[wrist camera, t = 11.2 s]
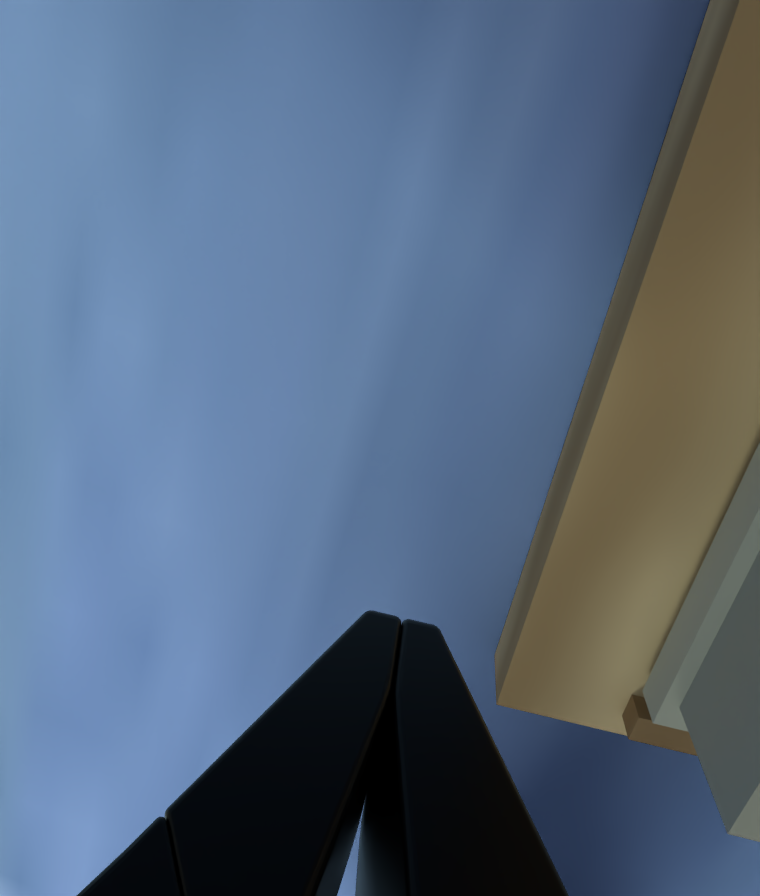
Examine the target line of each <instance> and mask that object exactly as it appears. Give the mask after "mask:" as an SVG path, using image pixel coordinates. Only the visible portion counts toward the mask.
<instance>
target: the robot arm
mask: <svg viewBox="0 0 760 896" xmlns="http://www.w3.org/2000/svg"><path fill="white" fill-rule="evenodd" d="M364 801H365V802H364ZM363 805H364V809H363ZM362 809H363V815H362V821H361V831H360V841H359V852H358V865H357V879H356V892H355V896H569V895H568V893H567V891H566V889H565V887H564V885H563V883H562V881H561V879H560V877H559V875H558V873H557V871H556V869H555V866H554V864H553V862H552V860H551V858H550V856H549V854H548V852H547V850H546V848H545V846H544V844H543V842H542V840H541V838H540V836H539V833H538V831H537V829H536V827H535V825H534V823H533V821H532V819H531V817H530V815H529V813H528V811H527V809H526V807H525V805H524V802H523V800H522V798H521V796H520V794H519V792H518V790H517V788H516V786H515V784H514V782H513V780H512V778H511V776H510V774H509V772H508V769H507V767H506V765H505V763H504V761H503V759H502V757H501V755H500V753H499V751H498V749H497V747H496V745H495V743H494V741H493V739H492V736H491V734H490V732H489V730H488V728H487V726H486V724H485V722H484V720H483V718H482V716H481V714H480V712H479V710H478V708H477V706H476V703H475V701H474V699H473V697H472V695H471V693H470V691H469V689H468V687H467V685H466V683H465V681H464V679H463V677H462V675H461V672H460V670H459V668H458V666H457V664H456V662H455V660H454V658H453V656H452V654H451V652H450V650H449V648H448V646H447V644H446V642H445V639H444V637H443V635H442V633H441V631H440V629H439V628H438V627H437V626H435V625H432V624H427V623H423V622H419V621H415V620H410V619H406V620H404V621H403V622H402V625H401V620H400V619H399V618H398V617H397V616H393V615H389V614H385V613H380V612H376V611H367V612H365V613H364V614H363V615H362V616H361V617H360V618H359V619H358V620H357V621H356V622H355V623H354V624H353V625H352V626H351V627H350V628H349V629H348V630H347V631H346V632H345V633H344V634H343V635H342V636H341V637H340V638H339V639H338V640H337V641H335V642H334V643H333V644H332V645H331V646H330V647H329V648H328V649H327V650H326V651H325V652H324V653H323V654H322V655H321V656H320V657H319V658H318V659H317V660H316V661H315V662H314V663H313V664H312V665H311V666H310V667H309V668H308V669H307V670H306V671H305V672H304V673H303V674H302V675H301V676H300V677H299V678H298V679H297V680H296V681H295V682H294V683H293V684H292V685H291V686H290V687H289V688H288V689H287V690H286V691H285V692H284V693H283V694H282V695H281V696H280V697H279V698H278V699H277V700H276V701H275V702H274V703H273V704H272V705H271V706H270V707H269V708H268V709H267V710H266V711H265V712H264V713H263V714H262V715H261V716H260V717H259V718H258V719H257V720H256V721H255V722H254V723H253V724H252V725H251V726H250V727H249V728H248V729H247V730H246V731H245V732H244V733H243V734H242V735H241V736H240V737H239V738H238V739H237V740H236V741H235V742H234V743H233V744H232V745H231V746H230V747H229V748H228V749H227V750H226V751H225V752H224V753H223V754H222V755H221V756H220V757H219V758H218V759H217V760H216V761H215V762H214V763H213V764H212V765H211V766H210V767H209V768H208V769H207V770H206V771H205V772H204V773H203V774H202V775H201V776H200V777H199V778H198V779H197V780H196V781H195V782H194V783H193V784H192V785H191V786H190V787H189V788H188V789H187V790H186V791H184V792H183V793H182V794H181V795H180V796H179V797H178V798H177V799H176V800H175V801H174V802H173V803H172V804H171V805H170V806H169V807H168V808H167V810H166V811H165V818H164V817H158V818H157V819H156V820H155V821H154V822H153V823H152V824H151V825H150V826H149V827H148V828H147V829H146V830H145V831H144V832H143V833H142V834H141V835H140V836H139V837H138V838H137V839H136V840H135V841H134V842H133V843H132V844H131V845H130V846H129V847H128V848H127V849H126V850H125V851H124V852H123V853H121V854H120V855H119V856H118V857H117V858H116V859H115V860H114V861H113V862H112V863H111V864H110V865H109V866H108V867H107V868H105V869H104V870H103V871H102V872H101V873H100V874H99V875H98V876H97V877H96V878H95V879H94V880H93V881H92V882H91V883H90V884H88V885H87V886H86V887H85V888H84V889H83V890H82V891H81V892H80V893H79V894H78V895H77V896H337V893H338V890H339V887H340V884H341V881H342V878H343V874H344V871H345V868H346V865H347V862H348V859H349V855H350V852H351V849H352V846H353V842H354V839H355V835H356V832H357V828H358V825H359V821H360V817H361V813H362Z"/></svg>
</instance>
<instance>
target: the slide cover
mask: <svg viewBox="0 0 760 896" xmlns="http://www.w3.org/2000/svg"><path fill="white" fill-rule="evenodd" d="M642 692H643V695H644V698H645V701H646V704H647V707H648V710H649V713H650V716H651V719H652V722H653V723H654V724H658V725H662V726H666V727H671V728H675V729H679V730H683V731H687V732H689V734H690V737H691V740H692V742H693V745H694V748H695V750H696V753H697V755H698V758H699V761H700V763H701V766H702V768H703V771H704V774H705V776H706V779H707V781H708V784H709V787H710V789H711V792H712V795H713V797H714V800H715V802H716V805H717V808H718V810H719V813H720V815H721V818H722V821H723V823H724V826H725V828H726V831H727V834H730V835H734V836H738V837H742V838H746V839H750V840H754V841H758V842H760V442H759V444H758V447H757V449H756V451H755V453H754V455H753V457H752V459H751V461H750V463H749V466H748V468H747V470H746V472H745V474H744V476H743V478H742V480H741V483H740V485H739V487H738V489H737V491H736V493H735V495H734V497H733V500H732V502H731V504H730V506H729V508H728V510H727V512H726V514H725V516H724V519H723V521H722V523H721V525H720V527H719V529H718V531H717V533H716V536H715V538H714V540H713V542H712V544H711V546H710V548H709V550H708V553H707V555H706V557H705V559H704V561H703V563H702V565H701V567H700V569H699V572H698V574H697V576H696V578H695V580H694V582H693V584H692V586H691V589H690V591H689V593H688V595H687V597H686V599H685V601H684V603H683V606H682V608H681V610H680V612H679V614H678V616H677V618H676V620H675V622H674V625H673V627H672V629H671V631H670V633H669V635H668V637H667V639H666V642H665V644H664V646H663V648H662V650H661V652H660V654H659V656H658V659H657V661H656V663H655V665H654V667H653V669H652V671H651V673H650V675H649V678H648V680H647V682H646V684H645V686H644V688H643V690H642Z"/></svg>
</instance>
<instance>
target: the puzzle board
mask: <svg viewBox="0 0 760 896" xmlns="http://www.w3.org/2000/svg"><path fill="white" fill-rule="evenodd" d="M759 442H760V0H710V2H709V5H708V8H707V11H706V14H705V17H704V21H703V24H702V27H701V30H700V33H699V36H698V39H697V42H696V45H695V48H694V51H693V54H692V57H691V60H690V63H689V66H688V69H687V72H686V75H685V78H684V81H683V84H682V87H681V90H680V93H679V96H678V100H677V103H676V106H675V109H674V112H673V115H672V118H671V121H670V124H669V127H668V130H667V133H666V136H665V139H664V142H663V145H662V148H661V151H660V154H659V157H658V160H657V163H656V166H655V169H654V172H653V175H652V178H651V182H650V185H649V188H648V191H647V194H646V197H645V200H644V203H643V206H642V209H641V212H640V215H639V218H638V221H637V224H636V227H635V230H634V233H633V236H632V239H631V242H630V245H629V248H628V251H627V254H626V257H625V261H624V264H623V267H622V270H621V273H620V276H619V279H618V282H617V285H616V288H615V291H614V294H613V297H612V300H611V303H610V306H609V309H608V312H607V315H606V318H605V321H604V324H603V327H602V330H601V333H600V336H599V339H598V343H597V346H596V349H595V352H594V355H593V358H592V361H591V364H590V367H589V370H588V373H587V376H586V379H585V382H584V385H583V388H582V391H581V394H580V397H579V400H578V403H577V406H576V409H575V412H574V415H573V418H572V421H571V425H570V428H569V431H568V434H567V437H566V440H565V443H564V446H563V449H562V452H561V455H560V458H559V461H558V464H557V467H556V470H555V473H554V476H553V479H552V482H551V485H550V488H549V491H548V494H547V497H546V500H545V504H544V507H543V510H542V513H541V516H540V519H539V522H538V525H537V528H536V531H535V534H534V537H533V540H532V543H531V546H530V549H529V552H528V555H527V558H526V561H525V564H524V567H523V570H522V573H521V576H520V579H519V582H518V586H517V589H516V592H515V595H514V598H513V601H512V604H511V607H510V610H509V613H508V616H507V619H506V622H505V625H504V628H503V631H502V634H501V637H500V640H499V643H498V646H497V649H496V652H495V680H496V704H497V705H501V706H505V707H509V708H513V709H517V710H522V711H526V712H530V713H534V714H538V715H542V716H547V717H551V718H555V719H559V720H563V721H567V722H571V723H576V724H580V725H584V726H588V727H592V728H596V729H600V730H605V731H609V732H613V733H617V734H621V735H625V736H628V739H629V740H633V741H638V742H642V743H646V744H650V745H654V746H658V747H662V748H667V749H671V750H675V751H679V752H683V753H687V754H691V755H696V756H698V755H697V753H696V750H695V748H694V745H693V742H692V740H691V737H690V734H689V732H687V731H683V730H679V729H675V728H671V727H666V726H662V725H658V724H654V723H653V722H652V719H651V716H650V713H649V710H648V707H647V704H646V701H645V698H644V695H643V692H642V690H643V688H644V686H645V684H646V682H647V680H648V678H649V675H650V673H651V671H652V669H653V667H654V665H655V663H656V661H657V659H658V656H659V654H660V652H661V650H662V648H663V646H664V644H665V642H666V639H667V637H668V635H669V633H670V631H671V629H672V627H673V625H674V622H675V620H676V618H677V616H678V614H679V612H680V610H681V608H682V606H683V603H684V601H685V599H686V597H687V595H688V593H689V591H690V589H691V586H692V584H693V582H694V580H695V578H696V576H697V574H698V572H699V569H700V567H701V565H702V563H703V561H704V559H705V557H706V555H707V553H708V550H709V548H710V546H711V544H712V542H713V540H714V538H715V536H716V533H717V531H718V529H719V527H720V525H721V523H722V521H723V519H724V516H725V514H726V512H727V510H728V508H729V506H730V504H731V502H732V500H733V497H734V495H735V493H736V491H737V489H738V487H739V485H740V483H741V480H742V478H743V476H744V474H745V472H746V470H747V468H748V466H749V463H750V461H751V459H752V457H753V455H754V453H755V451H756V449H757V447H758V444H759Z"/></svg>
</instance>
